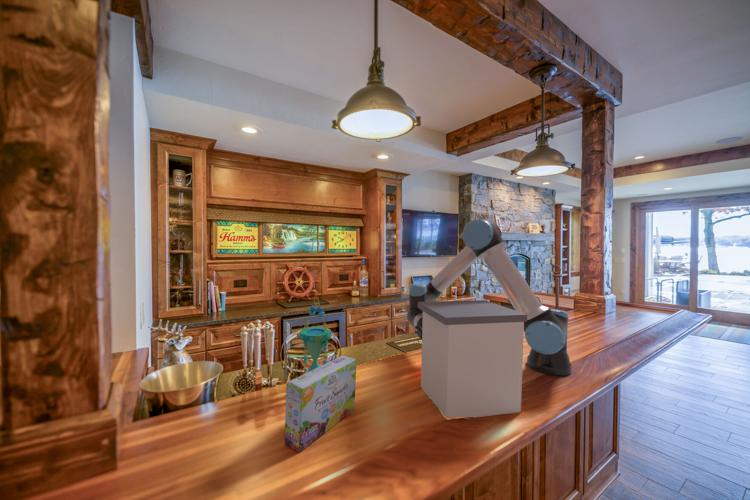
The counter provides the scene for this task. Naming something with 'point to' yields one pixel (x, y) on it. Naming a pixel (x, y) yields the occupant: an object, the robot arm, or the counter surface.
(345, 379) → the snack box
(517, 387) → the under-counter cabinet
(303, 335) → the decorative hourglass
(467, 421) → the counter surface
